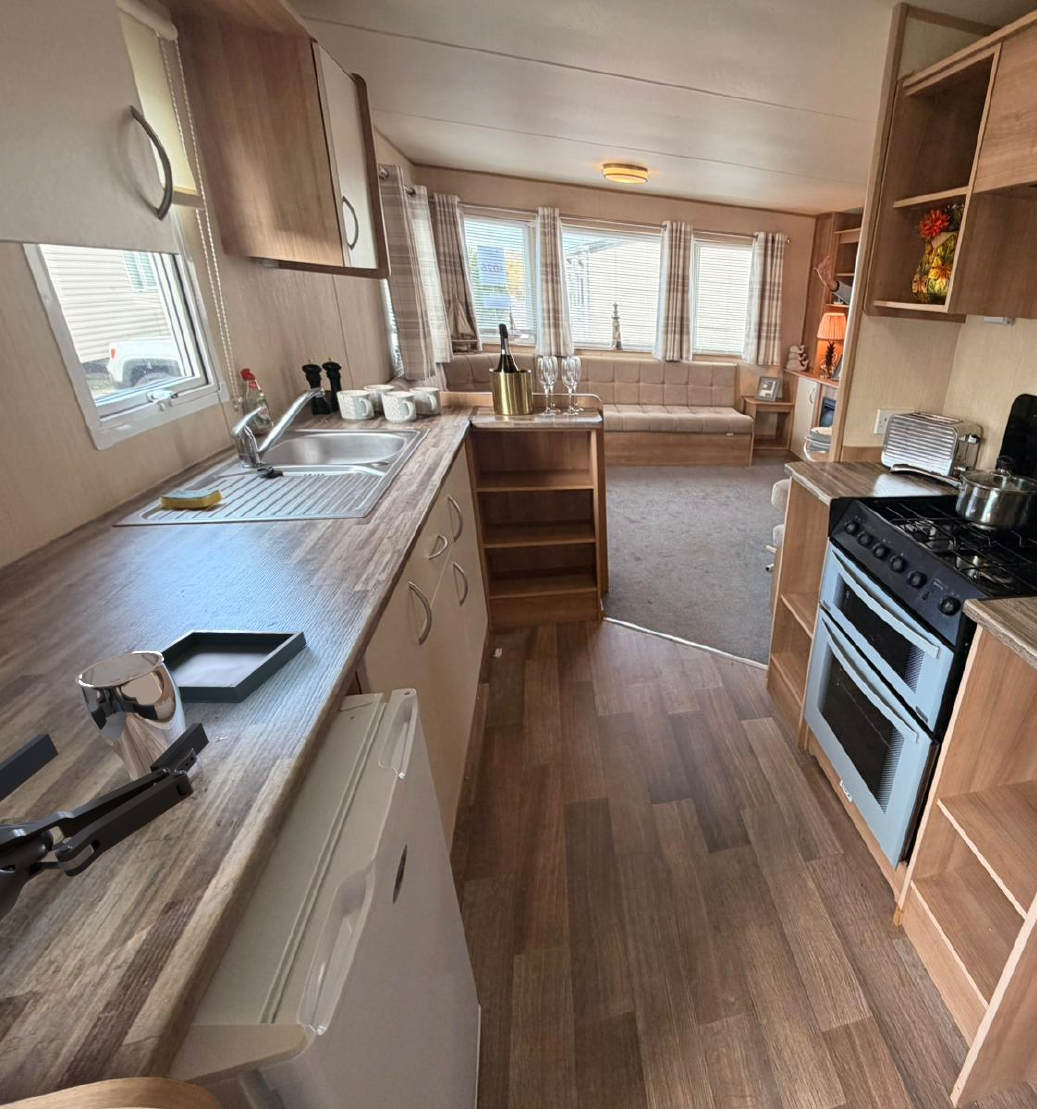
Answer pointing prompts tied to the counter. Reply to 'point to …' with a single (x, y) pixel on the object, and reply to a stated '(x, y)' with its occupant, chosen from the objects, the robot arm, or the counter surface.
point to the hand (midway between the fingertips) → (127, 738)
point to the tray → (228, 662)
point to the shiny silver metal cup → (135, 708)
